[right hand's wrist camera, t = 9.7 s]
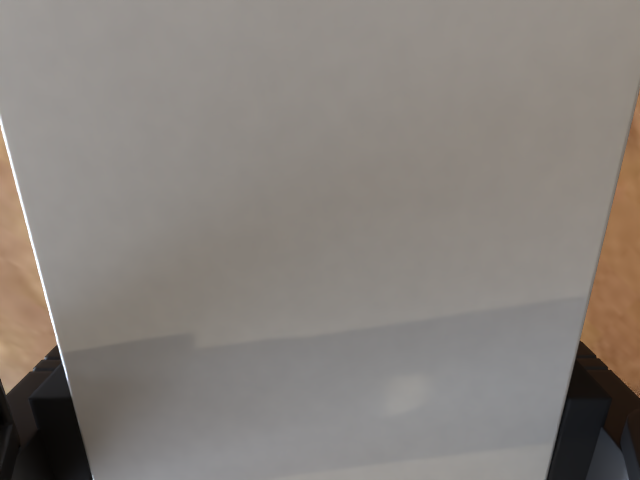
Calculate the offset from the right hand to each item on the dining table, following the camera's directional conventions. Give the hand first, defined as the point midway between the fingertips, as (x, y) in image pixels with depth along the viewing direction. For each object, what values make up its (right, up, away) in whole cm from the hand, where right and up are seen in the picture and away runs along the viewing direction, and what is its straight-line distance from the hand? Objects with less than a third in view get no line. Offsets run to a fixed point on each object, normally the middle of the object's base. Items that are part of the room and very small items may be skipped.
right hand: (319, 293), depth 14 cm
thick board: (0, -27, +11) cm, 29 cm away
